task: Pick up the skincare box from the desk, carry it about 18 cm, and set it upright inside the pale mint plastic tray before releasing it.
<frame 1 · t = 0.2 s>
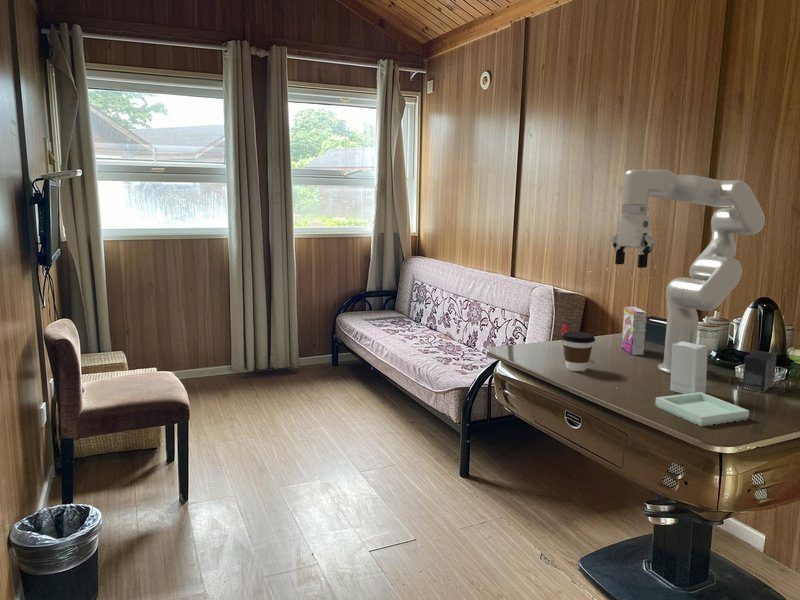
hand: (630, 265, 188), 36 cm above the table, tool pointing down, fingers open, 9 cm apart
tray: (700, 412, 163), on the table
candy bar box: (632, 352, 228), on the table
small box: (757, 387, 186), on the table
skincare box: (686, 393, 180), on the table
coffee cup: (576, 369, 203), on the table
decorative bird figurine: (569, 354, 223), on the table
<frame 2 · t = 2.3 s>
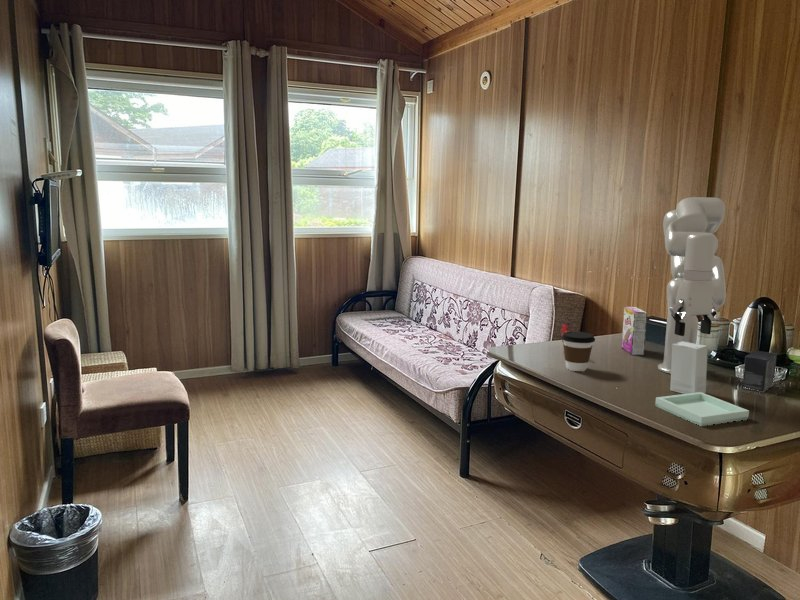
hand: (692, 334, 177), 18 cm above the table, tool pointing down, fingers open, 9 cm apart
nothing on the table moved.
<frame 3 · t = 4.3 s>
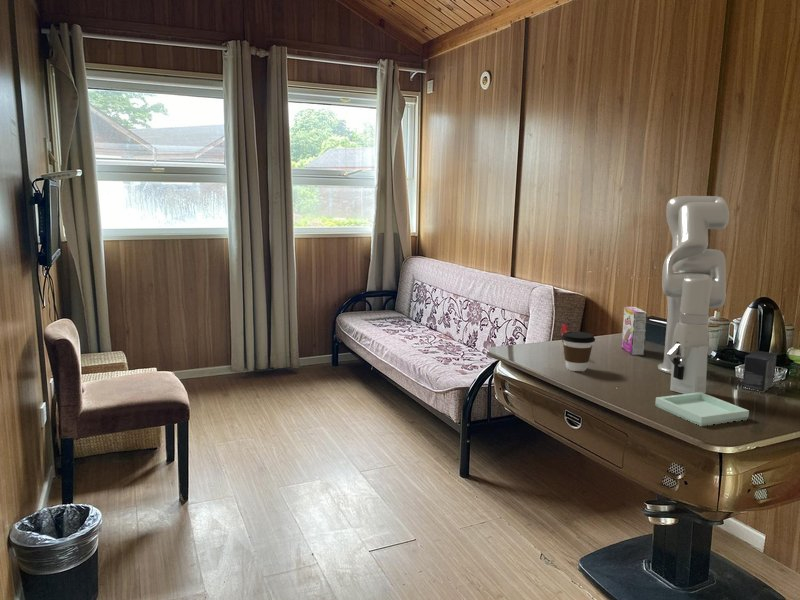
hand: (688, 377, 179), 5 cm above the table, tool pointing down, fingers closed on skincare box, 6 cm apart
skincare box: (686, 392, 180), on the table, touching gripper
everything else where it was.
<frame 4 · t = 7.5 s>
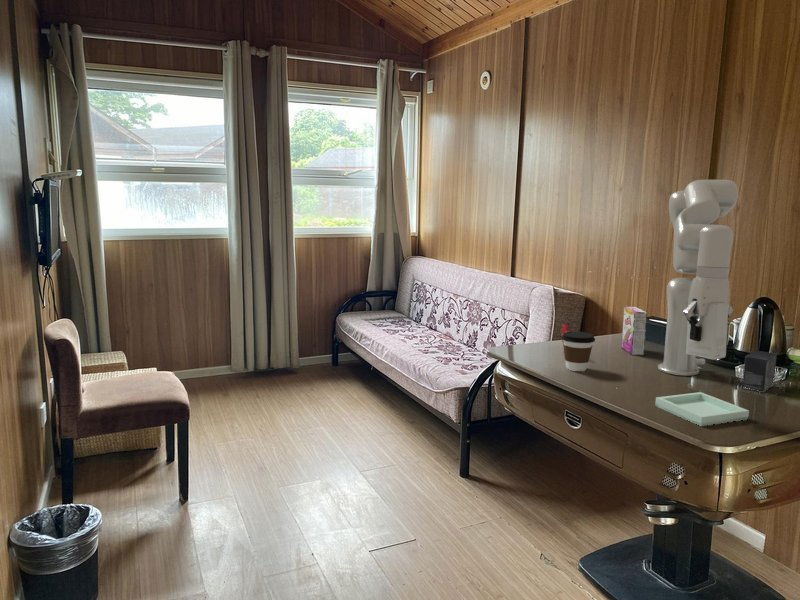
hand: (705, 338, 161), 20 cm above the table, tool pointing down, fingers closed on skincare box, 6 cm apart
skincare box: (704, 356, 162), point 15 cm above the table, touching gripper
everything else where it was.
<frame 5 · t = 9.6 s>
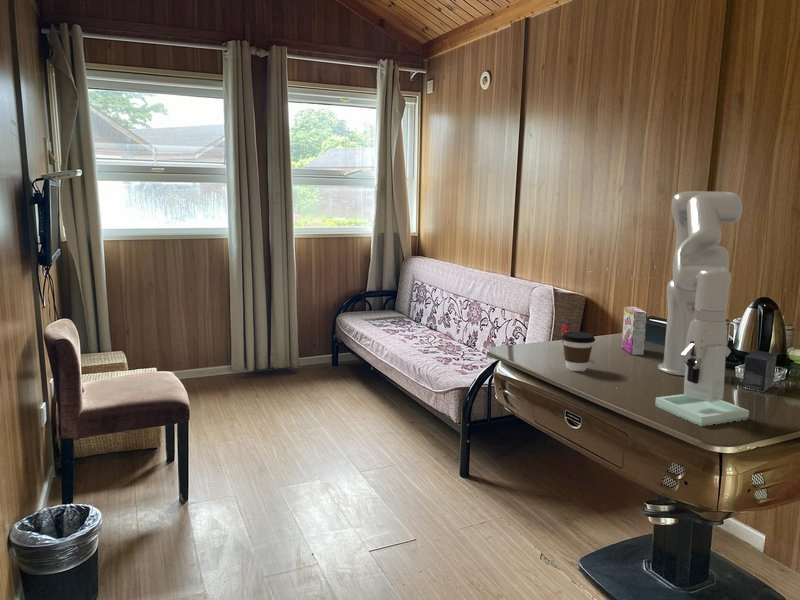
hand: (703, 380, 161), 9 cm above the table, tool pointing down, fingers closed on skincare box, 6 cm apart
skincare box: (701, 397, 162), point 4 cm above the table, touching gripper
everything else where it was.
when the fingers open (7 cm above the table, at t = 11.0 s): skincare box drops 1 cm, resting on tray.
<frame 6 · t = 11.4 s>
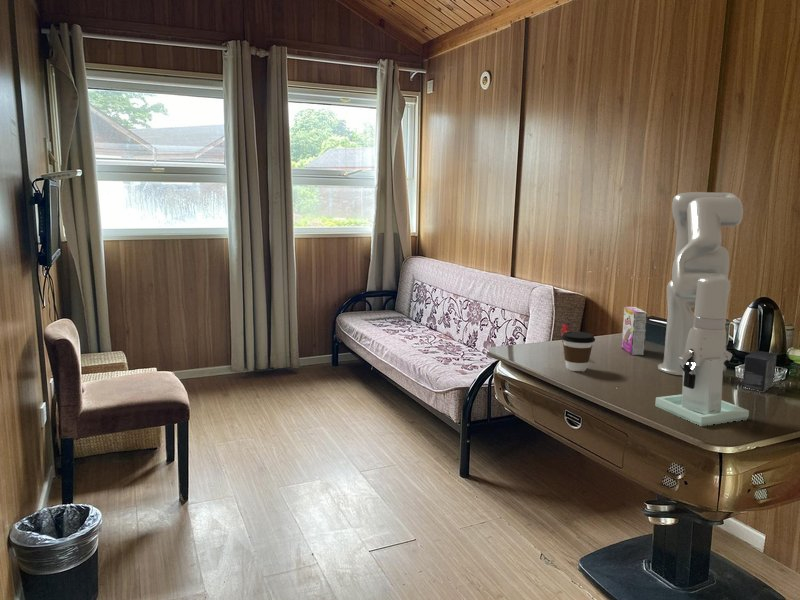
hand: (702, 385, 162), 8 cm above the table, tool pointing down, fingers open, 9 cm apart
skincare box: (699, 410, 163), point 1 cm above the table, touching tray
everything else where it was.
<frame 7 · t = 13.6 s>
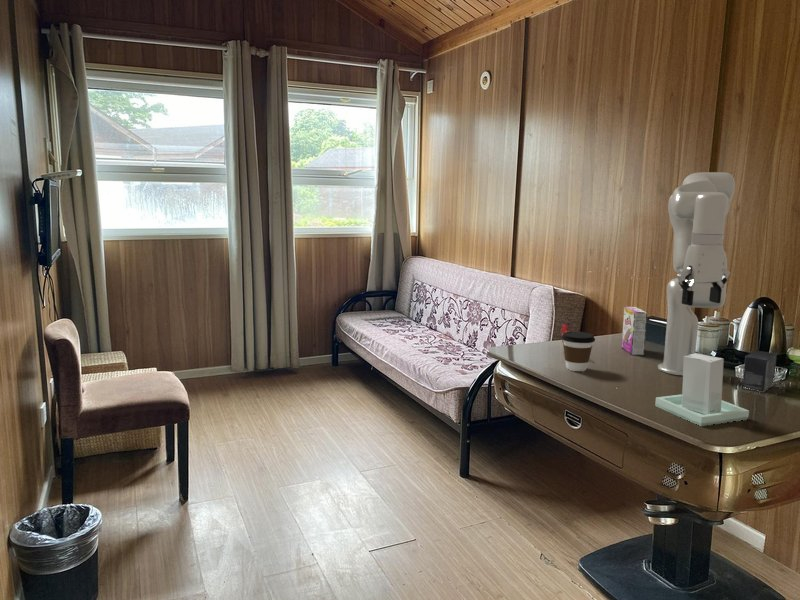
hand: (700, 303, 163), 29 cm above the table, tool pointing down, fingers open, 9 cm apart
nothing on the table moved.
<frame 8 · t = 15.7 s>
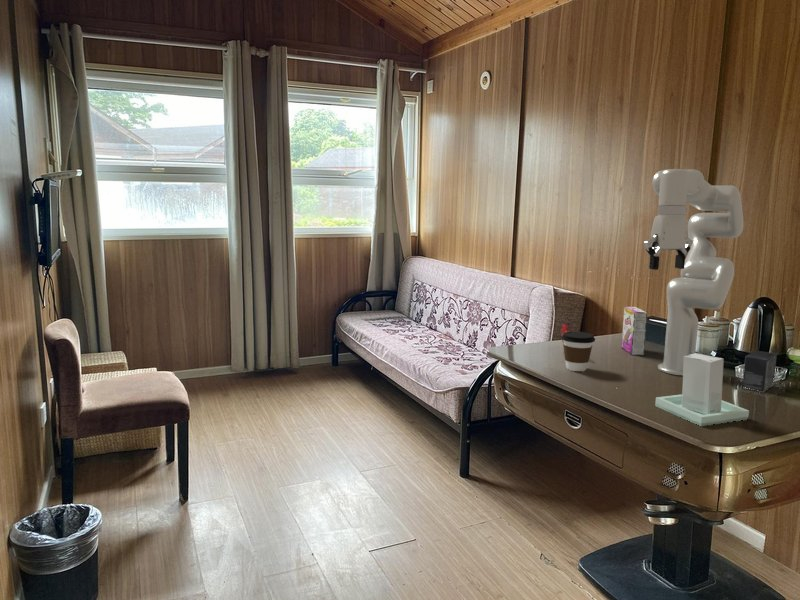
hand: (666, 268, 181), 36 cm above the table, tool pointing down, fingers open, 9 cm apart
nothing on the table moved.
at the end: skincare box inside the target area on the tray (0.1 cm from its centre), point 0.6 cm above the tray's base; skincare box tilted 0°; the gripper is holding nothing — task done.
